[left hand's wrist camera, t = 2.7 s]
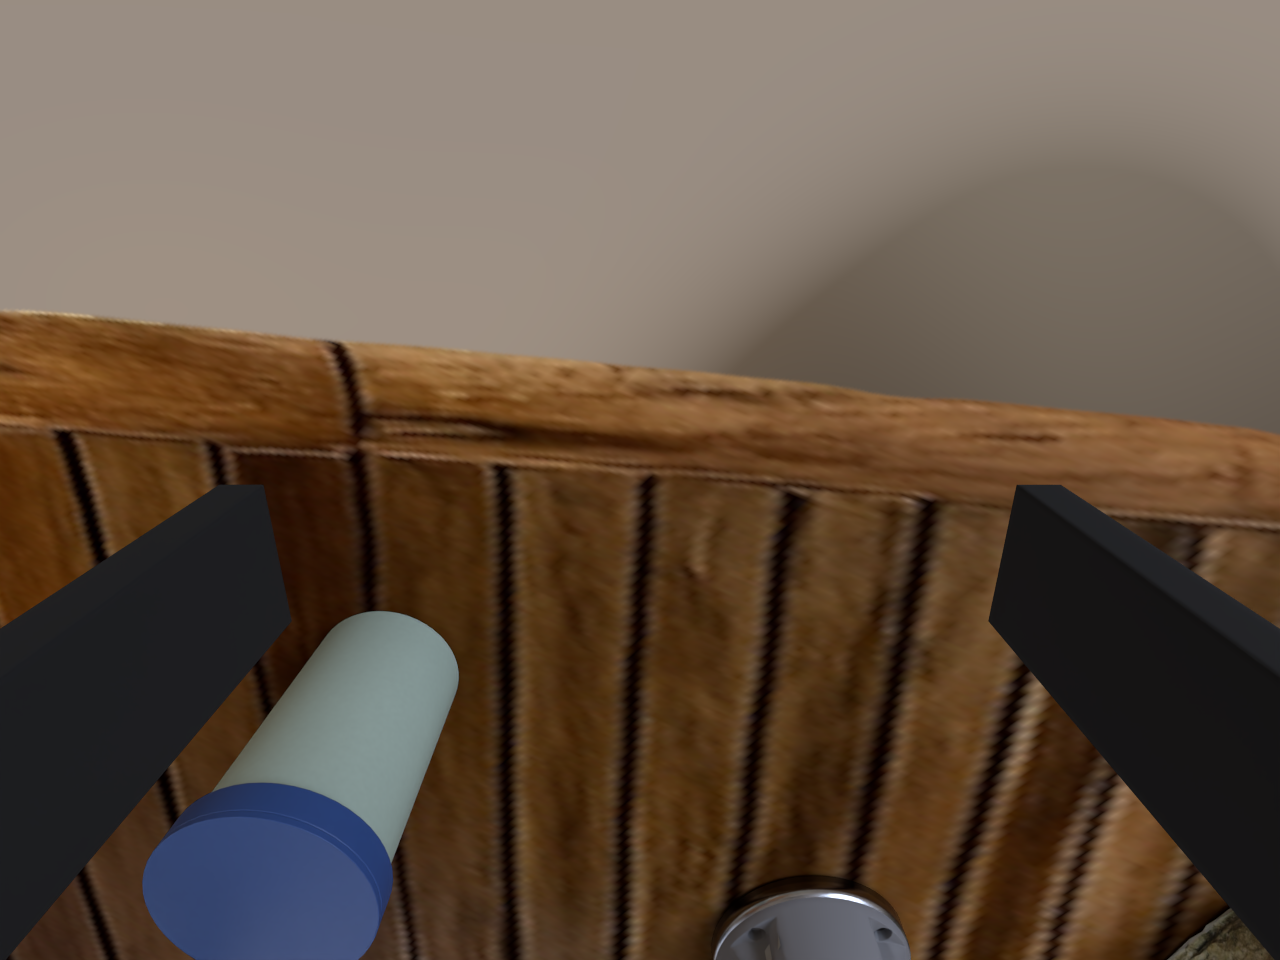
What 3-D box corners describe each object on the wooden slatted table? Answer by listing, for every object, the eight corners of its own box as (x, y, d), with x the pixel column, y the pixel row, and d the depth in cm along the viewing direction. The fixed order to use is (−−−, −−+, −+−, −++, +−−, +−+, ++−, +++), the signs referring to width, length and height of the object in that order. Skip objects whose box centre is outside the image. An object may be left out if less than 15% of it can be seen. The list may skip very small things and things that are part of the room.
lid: (438, 869, 33) (426, 907, 31) (306, 972, 36) (289, 1013, 34) (254, 743, 30) (230, 777, 29) (126, 865, 33) (96, 903, 31)
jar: (487, 672, 47) (413, 898, 32) (399, 749, 49) (290, 994, 34) (377, 584, 45) (238, 782, 29) (290, 669, 47) (119, 894, 32)
